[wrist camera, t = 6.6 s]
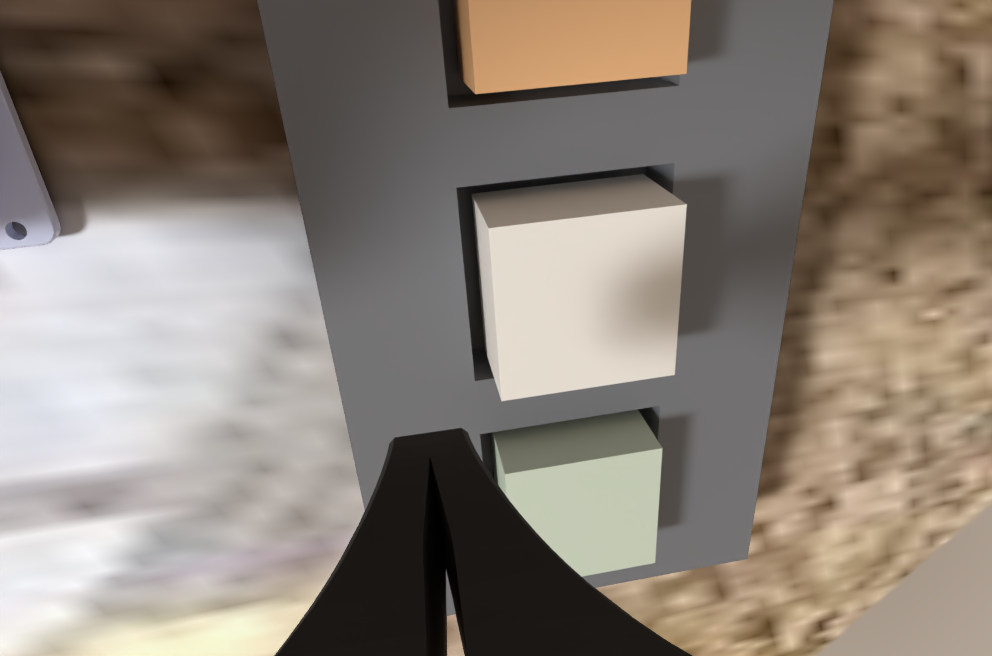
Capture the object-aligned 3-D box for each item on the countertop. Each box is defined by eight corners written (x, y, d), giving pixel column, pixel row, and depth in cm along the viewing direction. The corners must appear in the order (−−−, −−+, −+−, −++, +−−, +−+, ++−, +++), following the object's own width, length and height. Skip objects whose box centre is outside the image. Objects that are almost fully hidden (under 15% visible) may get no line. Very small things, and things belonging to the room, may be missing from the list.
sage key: (498, 525, 25) (513, 589, 22) (488, 417, 23) (504, 474, 20) (625, 503, 26) (655, 562, 23) (629, 395, 23) (662, 448, 21)
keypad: (387, 564, 27) (389, 626, 24) (220, -267, 15) (189, -321, 12) (712, 506, 29) (747, 558, 26) (803, -286, 16) (885, -336, 14)
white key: (484, 348, 21) (501, 401, 18) (471, 193, 19) (488, 228, 16) (637, 327, 21) (674, 374, 19) (642, 174, 19) (686, 204, 16)
